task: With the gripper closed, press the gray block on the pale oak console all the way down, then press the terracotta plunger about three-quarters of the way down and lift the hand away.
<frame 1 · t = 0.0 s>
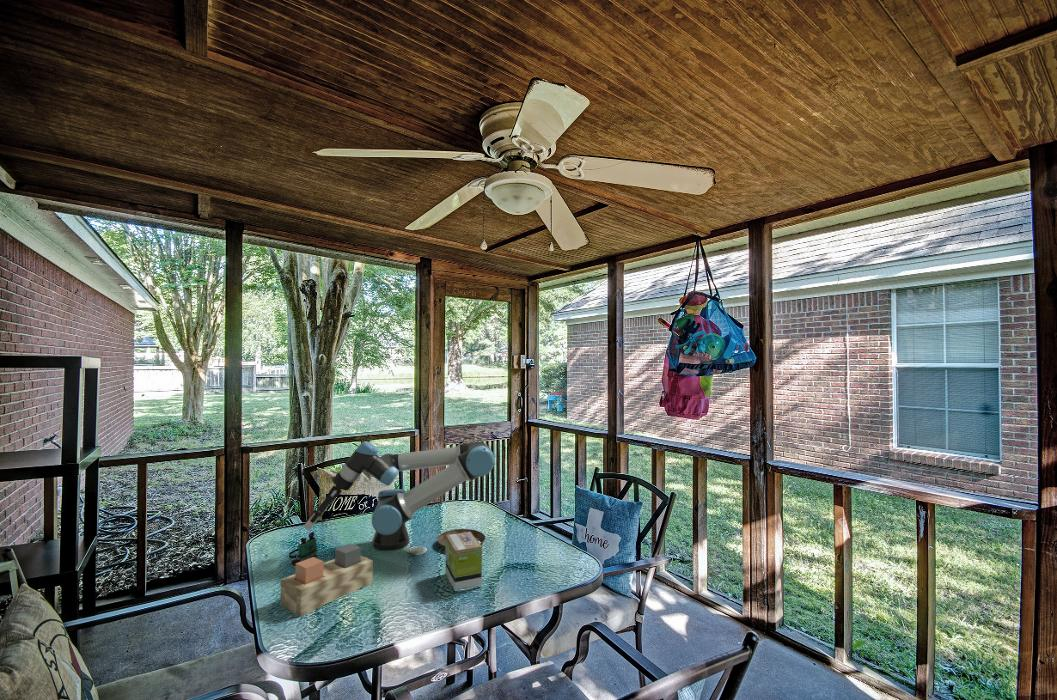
hand: (311, 522, 176), 15 cm above the table, tool tilted 35°, fingers open, 13 cm apart
plant saucer: (461, 545, 195), on the table
tea box: (462, 581, 162), on the table
binoculars: (301, 562, 175), on the table
terracotta plunger: (309, 574, 146), point 9 cm above the table, slide at 0.0 cm
gray block: (347, 559, 158), point 9 cm above the table, slide at 0.0 cm
console: (328, 593, 152), on the table
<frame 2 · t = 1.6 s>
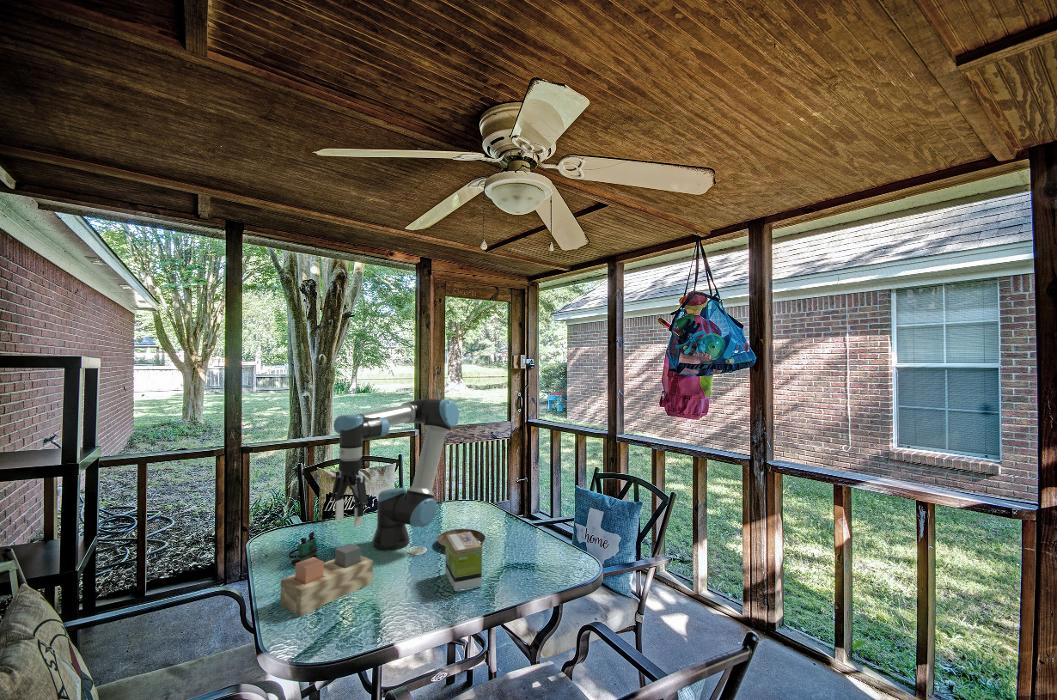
hand: (348, 522, 158), 22 cm above the table, tool pointing down, fingers open, 10 cm apart
nothing on the table moved.
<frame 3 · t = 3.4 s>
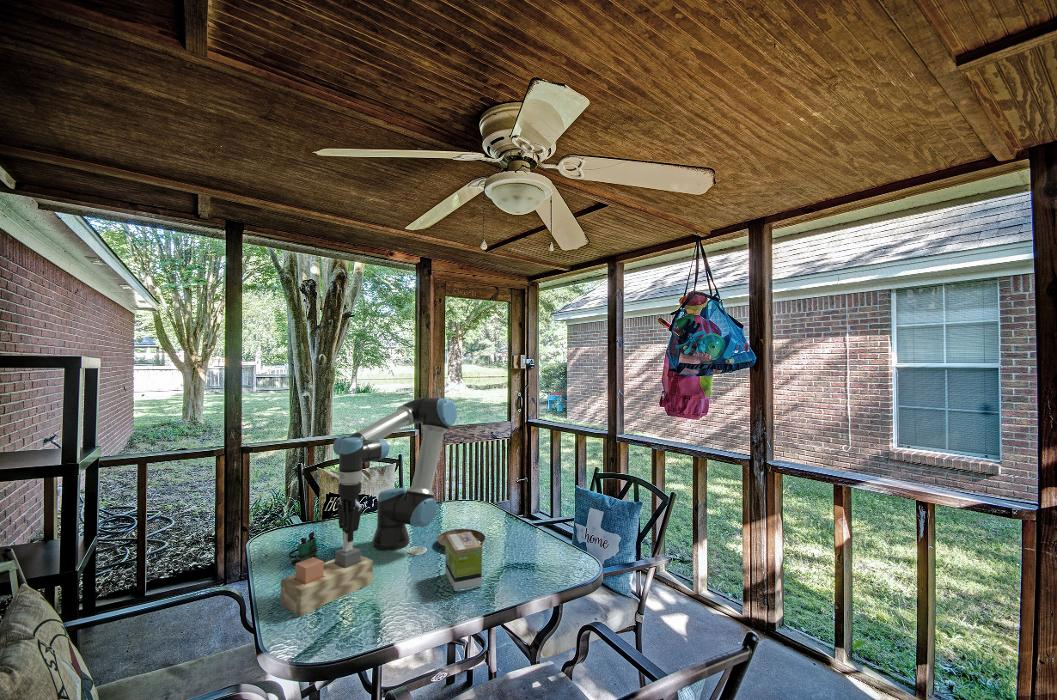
hand: (347, 550, 158), 12 cm above the table, tool pointing down, fingers closed
gray block: (347, 562, 158), point 8 cm above the table, slide at 0.9 cm, touching gripper
everything else where it was.
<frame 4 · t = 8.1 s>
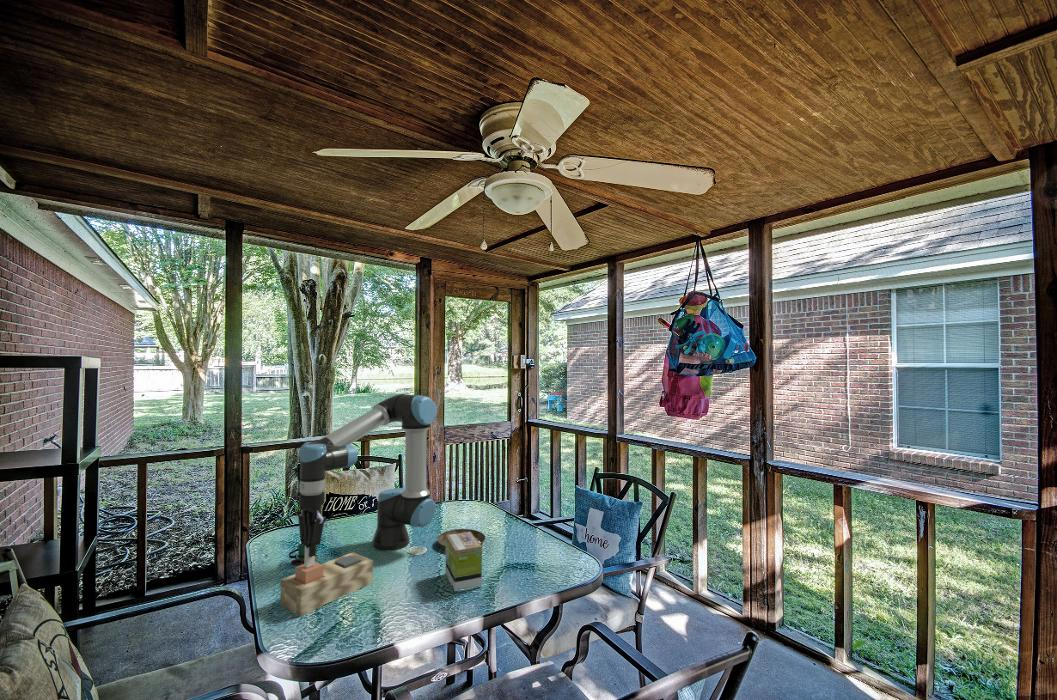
hand: (309, 565, 146), 12 cm above the table, tool pointing down, fingers closed
terracotta plunger: (309, 578, 146), point 8 cm above the table, slide at 1.3 cm, touching gripper
gray block: (347, 571, 158), point 5 cm above the table, slide at 4.1 cm
everything else where it was.
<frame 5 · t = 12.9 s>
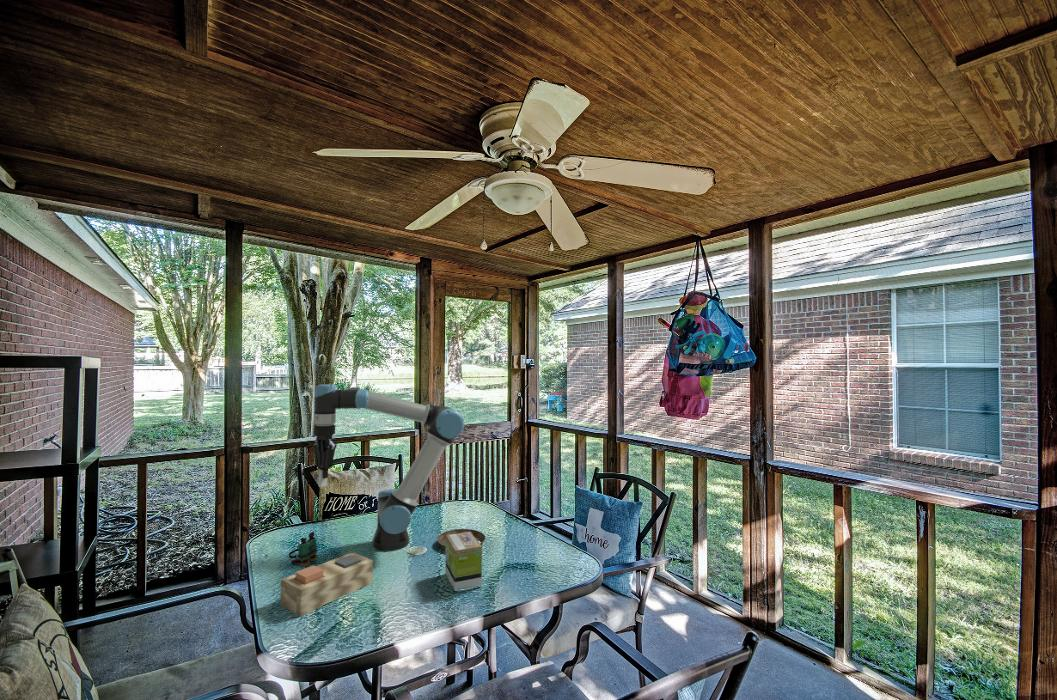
hand: (322, 486, 173), 30 cm above the table, tool pointing down, fingers closed
terracotta plunger: (309, 583, 146), point 6 cm above the table, slide at 2.8 cm
everything else where it was.
at the end: gray block slide at 4.1 cm; terracotta plunger slide at 2.8 cm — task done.
